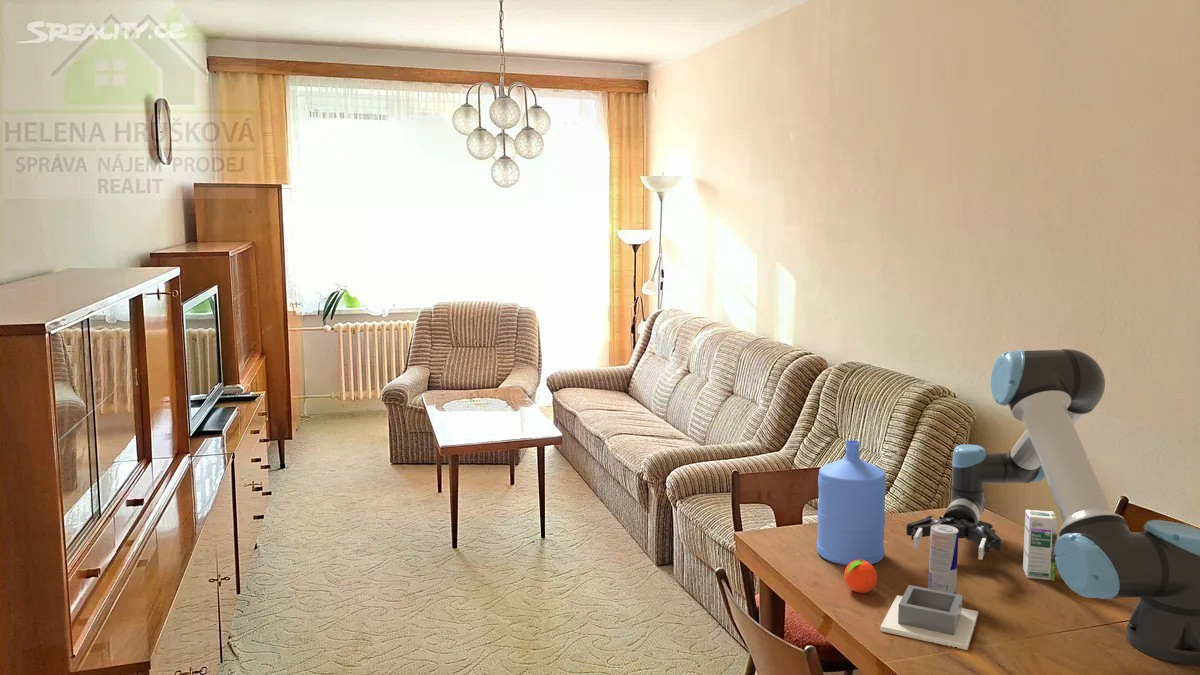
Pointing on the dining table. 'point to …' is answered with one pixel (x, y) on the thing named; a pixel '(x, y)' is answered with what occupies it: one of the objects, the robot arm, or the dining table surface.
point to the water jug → (851, 509)
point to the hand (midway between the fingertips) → (947, 548)
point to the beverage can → (943, 558)
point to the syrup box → (1040, 544)
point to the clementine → (860, 576)
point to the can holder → (931, 617)
